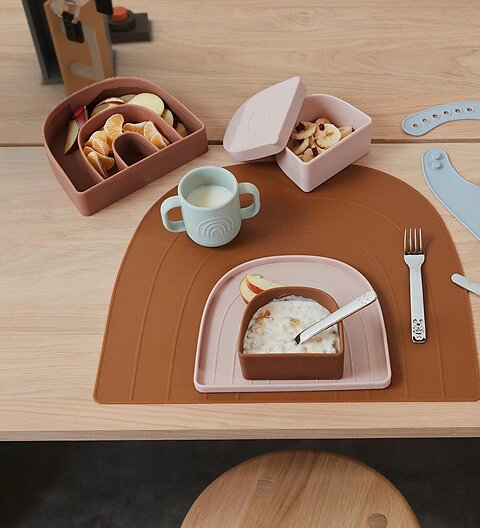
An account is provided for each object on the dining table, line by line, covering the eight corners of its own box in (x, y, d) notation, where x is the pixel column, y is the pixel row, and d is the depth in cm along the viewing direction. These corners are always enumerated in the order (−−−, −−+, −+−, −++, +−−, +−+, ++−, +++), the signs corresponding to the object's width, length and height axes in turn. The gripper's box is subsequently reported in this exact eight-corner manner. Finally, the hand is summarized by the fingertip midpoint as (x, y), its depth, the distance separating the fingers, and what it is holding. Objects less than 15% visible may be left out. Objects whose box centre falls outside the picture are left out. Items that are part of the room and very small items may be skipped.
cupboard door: (143, 88, 146) (125, -24, 128) (105, 128, 138) (80, 14, 120) (111, 79, 148) (89, -33, 130) (72, 117, 140) (43, 3, 122)
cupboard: (113, 78, 149) (91, -36, 130) (44, 83, 147) (12, -31, 129) (113, 51, 155) (92, -61, 136) (47, 56, 153) (16, -57, 135)
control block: (94, 45, 156) (91, 28, 153) (95, 25, 161) (91, 8, 158) (149, 41, 157) (147, 24, 154) (148, 21, 162) (146, 4, 159)
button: (111, 23, 155) (109, 15, 154) (111, 14, 157) (109, 6, 156) (127, 21, 155) (126, 14, 154) (127, 13, 158) (126, 5, 156)
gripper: (80, -101, 117) (97, -2, 130) (19, -55, 107) (45, 47, 120) (120, -92, 115) (134, 7, 129) (62, -45, 105) (83, 58, 119)
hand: (91, 26), depth 125 cm, fingers open, 9 cm apart
